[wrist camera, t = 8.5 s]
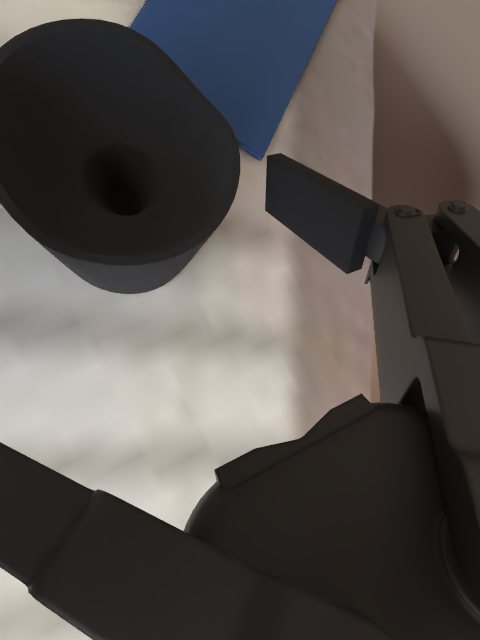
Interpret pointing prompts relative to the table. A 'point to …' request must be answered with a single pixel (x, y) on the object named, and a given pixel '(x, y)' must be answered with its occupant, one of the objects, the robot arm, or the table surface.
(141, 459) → the table surface
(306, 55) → the blue cloth
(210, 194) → the pen holder
